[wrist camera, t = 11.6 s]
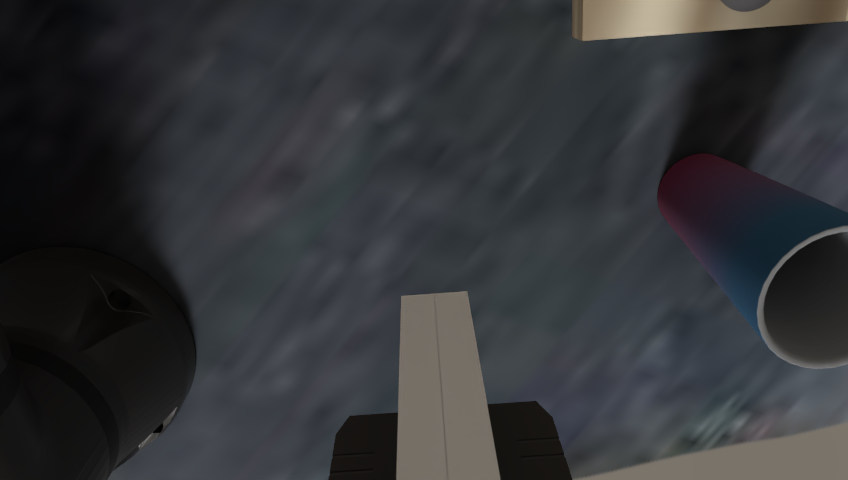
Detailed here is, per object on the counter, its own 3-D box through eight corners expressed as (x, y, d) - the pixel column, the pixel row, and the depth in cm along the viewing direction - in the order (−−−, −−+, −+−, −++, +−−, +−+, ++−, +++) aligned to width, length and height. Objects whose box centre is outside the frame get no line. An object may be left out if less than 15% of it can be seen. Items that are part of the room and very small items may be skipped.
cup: (695, 116, 40) (845, 192, 26) (773, 179, 42) (954, 282, 28) (620, 204, 42) (723, 318, 28) (698, 260, 44) (832, 394, 30)
